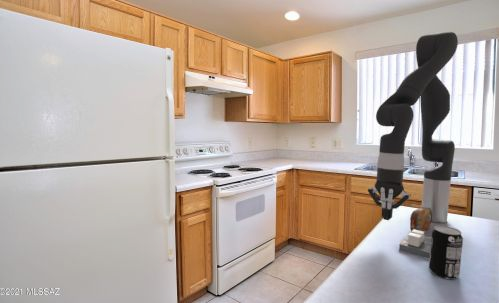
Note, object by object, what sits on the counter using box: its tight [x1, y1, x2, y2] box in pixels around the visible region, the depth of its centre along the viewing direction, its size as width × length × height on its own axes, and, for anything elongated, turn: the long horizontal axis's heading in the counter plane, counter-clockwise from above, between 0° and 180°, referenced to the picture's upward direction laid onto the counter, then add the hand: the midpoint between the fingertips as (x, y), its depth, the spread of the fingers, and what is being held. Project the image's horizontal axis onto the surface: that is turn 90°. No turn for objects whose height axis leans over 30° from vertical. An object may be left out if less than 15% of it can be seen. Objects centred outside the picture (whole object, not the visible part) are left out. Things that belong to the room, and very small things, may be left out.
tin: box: [409, 206, 433, 233], centre depth 102 cm, size 15×3×8 cm, turn 129°
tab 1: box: [411, 229, 425, 243], centre depth 88 cm, size 2×3×3 cm
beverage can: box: [428, 225, 464, 280], centre depth 72 cm, size 7×7×12 cm
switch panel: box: [398, 232, 432, 260], centre depth 86 cm, size 13×12×2 cm
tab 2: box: [407, 232, 422, 247], centre depth 85 cm, size 2×3×3 cm
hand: (386, 219), depth 90 cm, fingers closed
